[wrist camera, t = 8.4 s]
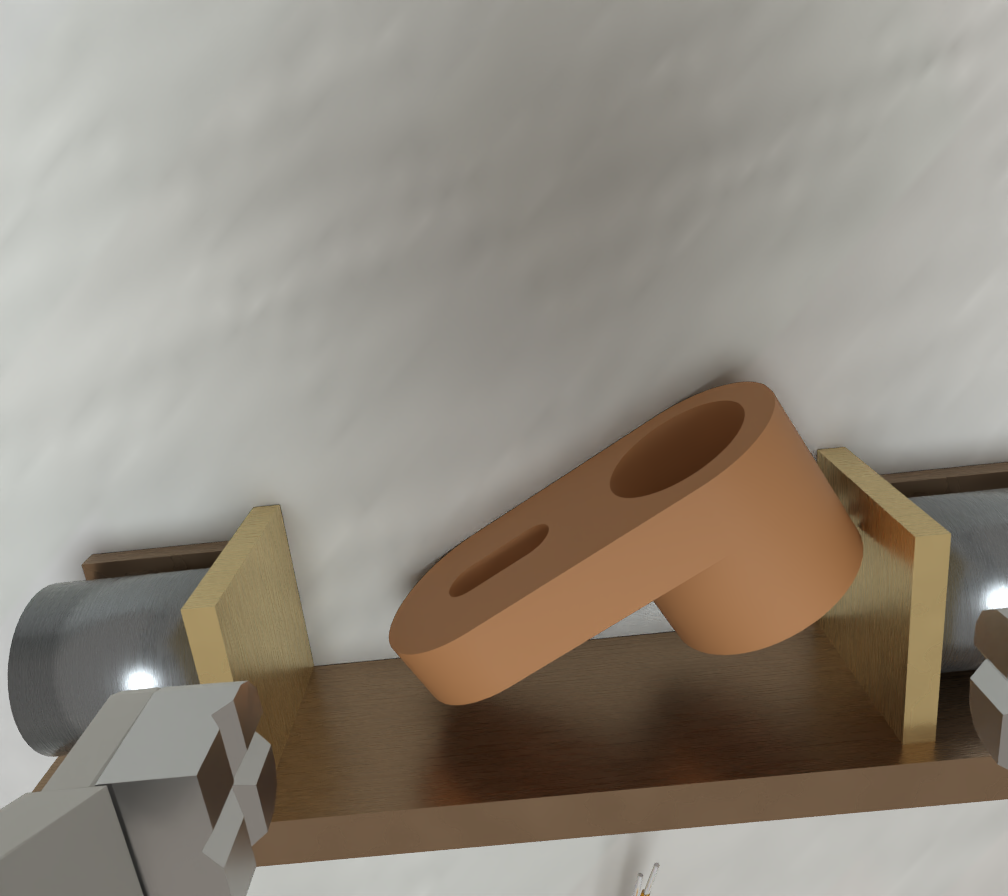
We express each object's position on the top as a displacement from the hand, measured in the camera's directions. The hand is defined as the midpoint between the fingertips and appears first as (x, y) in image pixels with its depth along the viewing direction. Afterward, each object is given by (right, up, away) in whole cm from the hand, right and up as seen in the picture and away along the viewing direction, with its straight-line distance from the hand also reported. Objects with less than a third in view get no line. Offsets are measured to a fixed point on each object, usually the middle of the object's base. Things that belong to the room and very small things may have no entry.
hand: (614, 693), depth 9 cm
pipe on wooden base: (+1, -3, +29) cm, 29 cm away
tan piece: (+1, 0, +23) cm, 23 cm away
